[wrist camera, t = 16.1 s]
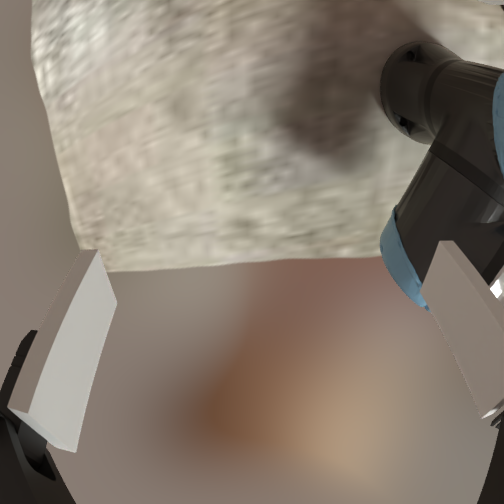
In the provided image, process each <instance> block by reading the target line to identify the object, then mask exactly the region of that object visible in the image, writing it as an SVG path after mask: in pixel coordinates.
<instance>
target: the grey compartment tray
mask: <svg viewBox="0 0 504 504" xmlns="http://www.w3.org/2000/svg"><path fill="white" fill-rule="evenodd" d="M478 1H481V2H483V3H486V4H496V5H504V0H478Z"/></svg>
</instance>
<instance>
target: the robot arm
mask: <svg viewBox="0 0 504 504" xmlns="http://www.w3.org/2000/svg"><path fill="white" fill-rule="evenodd" d="M380 90H381V99H382V103H383V107H384V110H385V112H386V114H387V116H388V118H389V119H390V121H391V122H392V124H393V125H394V126H395V127H396V128H397V129H398V130H399V131H400V132H402V133H403V134H404V135H406V136H408V137H409V138H411V139H413V140H415V141H417V142H420V143H423V144H428V145H431V147H430V149H429V150H428V152H427V154H426V156H425V158H424V159H423V161H422V163H421V165H420V167H419V169H418V170H417V172H416V174H415V176H414V178H413V179H412V181H411V183H410V185H409V186H408V188H407V190H406V192H405V193H404V195H403V197H402V198H401V200H400V202H399V203H398V205H396V206H395V207H394V208H393V210H392V215H391V217H390V219H389V221H388V223H387V225H386V226H385V228H384V230H383V232H382V234H381V237H380V251H381V254H382V258H383V261H384V263H385V266H386V268H387V269H388V271H389V273H390V275H391V276H392V277H393V279H394V280H395V282H396V283H397V284H398V286H399V287H400V288H401V289H402V291H403V292H404V293H405V294H406V295H407V296H408V297H409V298H410V299H411V300H412V301H414V302H415V303H416V304H417V305H419V306H420V307H425V309H426V310H427V311H429V312H431V313H432V315H433V317H434V318H435V320H436V322H437V324H438V326H439V328H440V330H441V332H442V333H443V336H444V337H445V339H446V341H447V343H448V345H449V347H450V349H451V351H452V353H453V356H454V357H455V360H456V362H457V364H458V366H459V368H460V370H461V372H462V375H463V377H464V379H465V381H466V383H467V386H468V388H469V390H470V393H471V395H472V397H473V400H474V402H475V405H476V407H477V410H478V412H479V415H480V417H481V419H482V418H484V417H486V416H489V415H491V414H493V413H495V412H496V411H497V410H498V409H500V408H501V407H502V406H503V405H504V69H500V68H496V67H492V66H488V65H484V64H479V63H475V62H470V61H464V60H463V59H461V58H460V57H459V56H457V55H456V54H454V53H453V52H451V51H450V50H448V49H447V48H445V47H443V46H440V45H438V44H434V43H428V42H413V43H409V44H406V45H404V46H402V47H400V48H399V49H398V50H396V51H395V52H394V53H393V54H392V55H391V57H390V58H389V59H388V61H387V63H386V65H385V67H384V70H383V73H382V77H381V86H380ZM116 306H117V301H116V298H115V296H114V293H113V290H112V287H111V285H110V282H109V279H108V276H107V273H106V270H105V267H104V265H103V262H102V259H101V255H100V252H99V249H94V250H81V251H80V253H79V255H78V256H77V258H76V260H75V261H74V263H73V265H72V267H71V268H70V270H69V272H68V274H67V275H66V277H65V279H64V281H63V283H62V284H61V286H60V288H59V290H58V292H57V294H56V296H55V298H54V299H53V301H52V303H51V305H50V307H49V309H48V311H47V313H46V315H45V317H44V319H43V321H42V323H41V326H40V328H39V330H38V331H37V330H31V331H30V332H29V333H28V334H27V335H26V336H25V338H24V339H23V340H22V341H21V343H20V345H19V348H18V350H17V352H16V357H14V359H13V361H12V364H11V365H12V366H11V367H10V368H9V370H8V373H7V375H6V378H5V380H4V383H3V385H2V388H1V390H0V504H76V503H75V501H74V499H73V498H72V496H71V494H70V492H69V490H68V489H67V487H66V485H65V483H64V481H63V479H62V477H61V475H60V473H59V471H58V469H57V467H56V465H55V463H54V461H53V459H52V457H51V454H50V452H49V451H48V450H47V449H46V444H47V441H48V442H49V443H51V444H52V445H53V446H55V447H57V448H60V449H63V450H67V451H71V452H75V453H76V451H77V446H78V441H79V436H80V431H81V427H82V423H83V418H84V414H85V410H86V405H87V402H88V398H89V394H90V390H91V387H92V383H93V379H94V376H95V372H96V369H97V365H98V362H99V358H100V355H101V351H102V348H103V345H104V342H105V339H106V336H107V333H108V329H109V327H110V324H111V320H112V317H113V315H114V311H115V309H116ZM500 420H501V422H500V423H499V424H498V425H497V426H496V428H498V429H499V432H498V436H497V441H496V445H495V449H494V452H493V456H492V460H491V463H490V467H489V470H488V474H487V477H486V480H485V483H484V486H483V489H482V492H481V494H480V497H479V500H478V502H477V504H504V411H503V412H502V413H501V414H499V415H498V416H497V417H496V418H495V419H494V420H493V421H492V423H491V426H494V425H495V424H496V423H497V422H498V421H500Z"/></svg>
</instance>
